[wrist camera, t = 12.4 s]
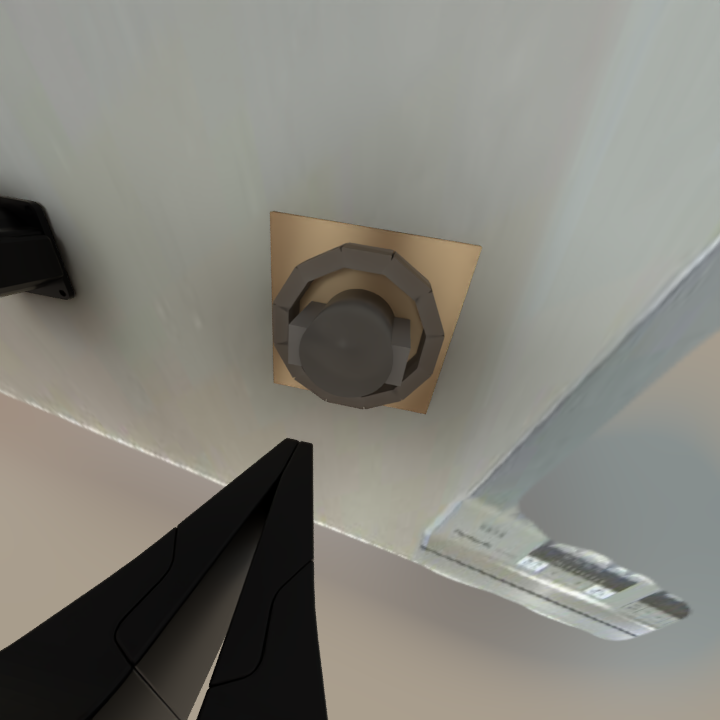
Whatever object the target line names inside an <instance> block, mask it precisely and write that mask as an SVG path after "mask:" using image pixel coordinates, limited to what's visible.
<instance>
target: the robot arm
mask: <svg viewBox="0 0 720 720" xmlns="http://www.w3.org/2000/svg"><path fill="white" fill-rule="evenodd" d="M21 292H29V293H34V294H39V295H44V296H49V297H55V298H60V299H65V300H67V299H71V298H73V297H74V296H75V294H74V291H73V288H72V286H71V283H70V281H69V278H68V275H67V273H66V270H65V268H64V265H63V262H62V260H61V257H60V255H59V252H58V249H57V247H56V244H55V242H54V239H53V236H52V234H51V231H50V229H49V226H48V223H47V221H46V218H45V216H44V213H43V211H42V209H41V207H40V206H39V205H38V204H37V203H36V202H33V201H28V200H22V199H17V198H11V197H5V196H0V297H4V296H8V295H12V294H17V293H21ZM313 529H314V521H313V444H312V443H308V442H303V441H301V442H299V441H298V440H294V439H290V438H286V439H284V440H283V441H282V442H281V443H279V444H278V445H277V446H276V447H274V448H273V449H272V450H271V451H269V452H268V453H267V454H266V455H264V456H263V457H262V458H261V459H259V460H258V461H257V462H256V463H254V464H253V465H252V466H251V467H249V468H248V469H247V470H246V471H244V472H243V473H242V474H241V475H239V476H238V477H237V478H236V479H234V480H233V481H232V482H231V483H229V484H228V485H227V486H226V487H224V488H223V489H222V490H221V491H219V492H218V493H217V494H216V495H214V496H213V497H212V498H211V499H210V500H208V501H207V502H206V503H205V504H203V505H202V506H201V507H200V508H199V509H197V510H196V511H195V512H193V513H192V514H191V515H190V516H188V517H187V518H186V519H185V520H184V521H182V522H181V523H180V524H179V525H178V526H177V528H176V527H175V528H173V529H172V530H171V531H169V532H168V533H167V534H166V535H165V536H163V537H162V538H161V539H160V540H158V541H157V542H156V543H154V544H153V545H152V546H150V547H149V548H148V549H147V550H145V551H144V552H143V553H141V554H140V555H139V556H137V557H136V558H135V559H133V560H132V561H131V562H129V563H128V564H126V565H125V566H124V567H122V568H121V569H119V570H118V571H117V572H115V573H114V574H113V575H111V576H110V577H108V578H107V579H106V580H104V581H103V582H101V583H100V584H98V585H97V586H95V587H94V588H93V589H91V590H90V591H88V592H87V593H85V594H84V595H82V596H81V597H79V598H78V599H76V600H75V601H74V602H72V603H71V604H69V605H68V606H67V607H65V608H63V609H62V610H61V611H59V612H58V613H56V614H55V615H53V616H52V617H50V618H49V619H47V620H46V621H45V622H43V623H42V624H40V625H39V626H37V627H36V628H34V629H33V630H32V631H30V632H29V633H27V634H26V635H24V636H23V637H21V638H20V639H18V640H17V641H15V642H14V643H12V644H11V645H9V646H8V647H6V648H4V649H3V650H1V651H0V720H187V719H188V716H189V714H190V712H191V710H192V708H193V706H194V703H195V701H196V699H197V697H198V695H199V692H200V690H201V688H202V686H203V684H204V682H205V679H206V677H207V675H208V673H209V671H210V668H211V666H212V664H213V662H214V660H215V658H216V655H217V653H218V651H219V649H220V647H221V645H222V642H223V640H224V638H225V640H224V642H223V646H222V648H221V651H220V654H219V657H218V660H217V663H216V666H215V669H214V671H213V674H212V677H211V680H210V683H209V689H208V690H207V692H206V695H205V698H204V700H203V703H202V706H201V709H200V711H199V714H198V717H197V719H196V720H328V717H327V708H326V700H325V693H324V684H323V675H322V667H321V659H320V650H319V642H318V632H317V622H316V612H315V594H314V593H315V591H314V562H313V560H314V537H313V535H314V531H313ZM225 636H226V637H225Z"/></svg>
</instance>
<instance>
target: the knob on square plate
mask: <svg viewBox="0 0 720 720" xmlns="http://www.w3.org/2000/svg"><path fill="white" fill-rule="evenodd" d="M270 231H271V278H272V324H273V371H274V383H277V384H282V385H286V386H291V387H296V388H301V389H306V390H310V391H311V392H313V393H314V394H316V395H317V396H319V397H320V398H321V399H323V400H324V401H325V400H326V399H327V402H330V403H335V404H340V405H345V406H350V407H354V408H359V409H363V408H365V409H368V408H373V407H377V406H382V405H384V406H388V407H393V408H398V409H403V410H408V411H413V412H417V413H422V414H426V412H427V409H428V406H429V403H430V400H431V397H432V395H433V392H434V389H435V386H436V383H437V380H438V377H439V374H440V371H441V368H442V365H443V362H444V359H445V356H446V353H447V350H448V347H449V344H450V341H451V338H452V335H453V332H454V329H455V326H456V323H457V320H458V317H459V314H460V312H461V309H462V306H463V303H464V300H465V297H466V294H467V291H468V288H469V285H470V282H471V279H472V276H473V273H474V270H475V267H476V264H477V261H478V258H479V255H480V252H481V249H482V247H481V246H478V245H472V244H466V243H460V242H454V241H448V240H442V239H437V238H431V237H425V236H419V235H413V234H407V233H401V232H395V231H389V230H383V229H377V228H371V227H365V226H359V225H353V224H347V223H341V222H335V221H329V220H323V219H317V218H311V217H305V216H299V215H293V214H287V213H281V212H275V211H272V212H270ZM349 289H364V290H368V291H371V292H373V293H375V294H377V295H379V296H380V297H382V298H383V299H384V300H385V301H386V302H387V303H388V304H389V306H390V307H391V309H392V311H393V313H394V316H395V317H398V318H403V319H409V320H410V338H411V349H410V353H409V356H408V360H407V364H406V368H405V371H404V375H403V379H402V383H401V386H395V385H390V384H386V383H384V384H383V385H382V386H381V387H380V388H379V389H378V390H376V391H374V392H373V393H371V394H368V395H365V396H362V397H354V398H348V397H340V396H336V395H333V394H330V393H328V392H326V391H324V390H322V389H321V388H319V387H318V386H317V385H316V384H314V383H313V382H312V381H311V380H310V378H309V377H308V376H307V374H306V373H305V371H304V369H303V367H302V366H298V365H293V364H288V338H289V324H290V323H291V322H292V321H293V320H294V318H295V317H296V316H297V315H298V314H299V313H300V312H301V311H302V310H303V309H304V308H305V307H306V306H307V305H308V304H309V303H310V302H311V301H314V302H320V303H325V304H327V303H328V302H329V301H330V300H331V298H333V297H334V296H335V295H337V294H338V293H340V292H342V291H345V290H349Z"/></svg>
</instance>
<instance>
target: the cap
mask: <svg viewBox="0 0 720 720" xmlns="http://www.w3.org/2000/svg"><path fill="white" fill-rule="evenodd" d="M410 349H411V338H410V320H409V319H403V318H398V317H395V316H394V313H393V311H392V309H391V307H390V306H389V304H388V303H387V302H386V301H385V300H384V299H383V298H382V297H380V296H379V295H377V294H375V293H373V292H371V291H368V290H364V289H349V290H345V291H342V292H340V293H338V294H337V295H335V296H334V297H333V298H331V300H330V301H329V302H328V303H327V304H325V303H320V302H314V301H311V302H310V303H309V304H308V305H307V306H306V307H305V308H304V309H303V310H302V311H301V312H300V313H299V314H298V315H297V316H296V317H295V318H294V320H293V321H292V322H291V323H290V324H289V338H288V364H293V365H298V366H302V367H303V369H304V371H305V373H306V374H307V376H308V377H309V378H310V380H311V381H312V382H313V383H314V384H316V385H317V386H318V387H319V388H321V389H322V390H324V391H326V392H328V393H330V394H333V395H336V396H340V397H348V398H354V397H362V396H365V395H368V394H371V393H373V392H374V391H376V390H378V389H379V388H380V387H381V386H382V385H383V384H384V383H386V384H390V385H395V386H401V383H402V379H403V375H404V371H405V368H406V364H407V360H408V356H409V353H410Z"/></svg>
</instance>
